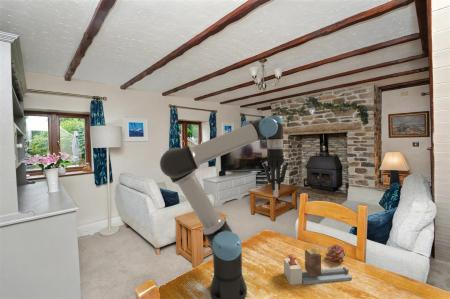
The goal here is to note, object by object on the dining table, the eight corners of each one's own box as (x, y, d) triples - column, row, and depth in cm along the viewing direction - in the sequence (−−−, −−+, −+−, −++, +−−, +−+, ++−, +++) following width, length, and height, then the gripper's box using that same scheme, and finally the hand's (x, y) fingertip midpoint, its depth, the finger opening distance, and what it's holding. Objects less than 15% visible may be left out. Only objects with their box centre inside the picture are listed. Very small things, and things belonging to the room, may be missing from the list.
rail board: (303, 284, 92) (303, 277, 92) (296, 274, 99) (296, 267, 99) (351, 279, 94) (352, 273, 94) (341, 269, 101) (341, 263, 101)
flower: (345, 253, 112) (335, 239, 113) (354, 259, 103) (343, 245, 104) (330, 263, 112) (320, 250, 113) (338, 271, 103) (327, 256, 104)
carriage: (310, 276, 93) (310, 254, 92) (304, 269, 98) (304, 248, 97) (321, 275, 93) (321, 253, 93) (315, 268, 98) (315, 248, 98)
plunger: (290, 270, 94) (290, 258, 94) (287, 266, 97) (287, 254, 97) (297, 270, 94) (297, 257, 94) (294, 265, 97) (294, 253, 97)
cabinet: (290, 284, 92) (290, 269, 91) (283, 273, 100) (283, 258, 99) (302, 283, 92) (301, 268, 92) (294, 272, 100) (294, 257, 100)
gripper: (263, 149, 99) (264, 199, 100) (291, 148, 100) (291, 197, 101) (259, 148, 106) (260, 195, 108) (285, 147, 107) (285, 193, 109)
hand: (275, 196), depth 104 cm, fingers closed
